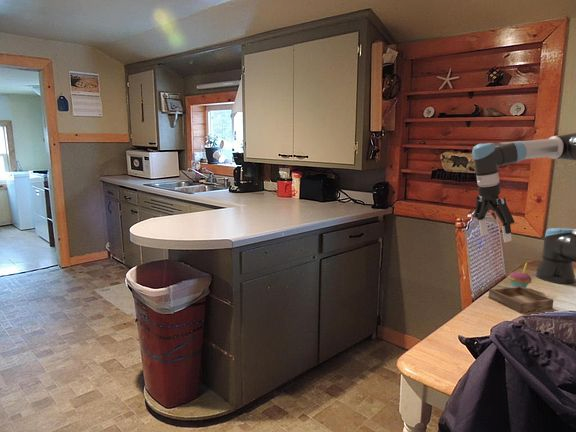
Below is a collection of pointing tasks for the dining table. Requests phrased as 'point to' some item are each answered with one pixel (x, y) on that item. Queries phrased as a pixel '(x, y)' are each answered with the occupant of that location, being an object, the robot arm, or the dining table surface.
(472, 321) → the dining table surface
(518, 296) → the tray
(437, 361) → the dining table surface
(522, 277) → the cupcake
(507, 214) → the robot arm
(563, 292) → the dining table surface
